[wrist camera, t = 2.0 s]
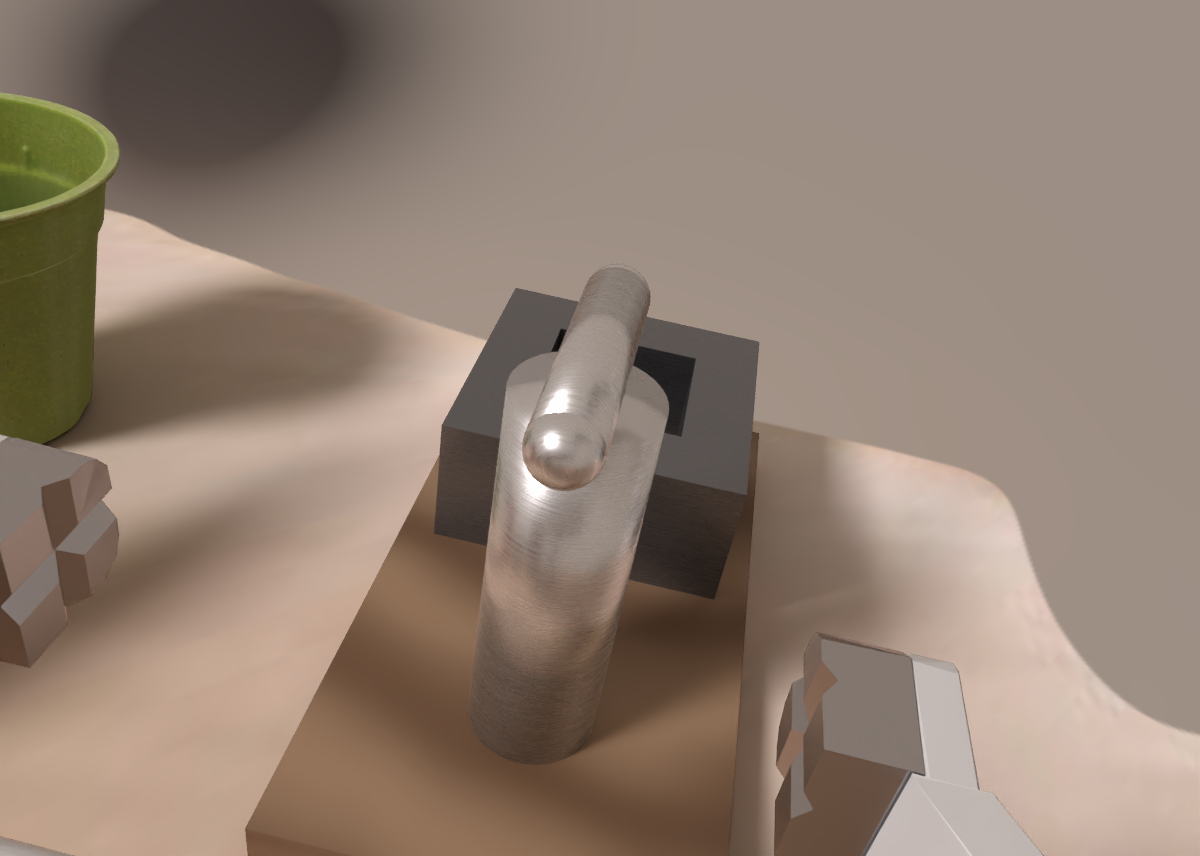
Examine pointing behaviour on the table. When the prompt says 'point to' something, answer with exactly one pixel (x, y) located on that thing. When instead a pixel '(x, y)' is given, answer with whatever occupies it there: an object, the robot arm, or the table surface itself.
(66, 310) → the plant pot
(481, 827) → the beige thin flat slab
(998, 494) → the table surface
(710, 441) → the square socket block
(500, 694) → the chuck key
